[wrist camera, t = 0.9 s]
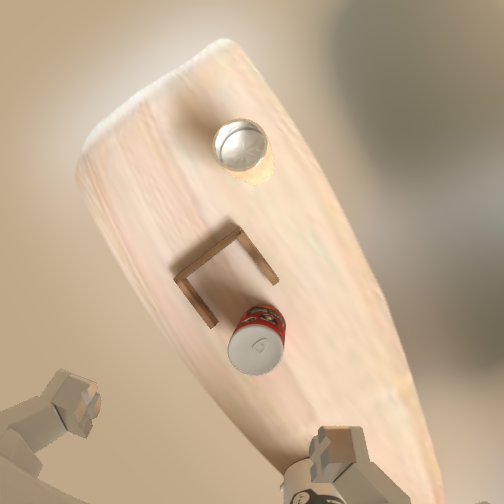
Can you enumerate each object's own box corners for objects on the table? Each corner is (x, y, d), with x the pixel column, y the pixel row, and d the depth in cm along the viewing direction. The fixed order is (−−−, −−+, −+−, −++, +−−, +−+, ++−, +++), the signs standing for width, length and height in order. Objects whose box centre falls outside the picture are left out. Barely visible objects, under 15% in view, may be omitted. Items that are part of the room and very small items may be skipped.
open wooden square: (279, 279, 50) (278, 282, 47) (214, 324, 52) (210, 329, 49) (240, 227, 50) (238, 227, 47) (178, 276, 52) (173, 278, 49)
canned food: (293, 314, 50) (292, 339, 39) (273, 353, 51) (268, 384, 40) (252, 296, 50) (240, 316, 40) (234, 335, 52) (219, 362, 41)
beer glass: (226, 170, 49) (198, 150, 34) (253, 138, 48) (235, 106, 33) (258, 196, 49) (243, 185, 34) (285, 163, 47) (281, 139, 33)
